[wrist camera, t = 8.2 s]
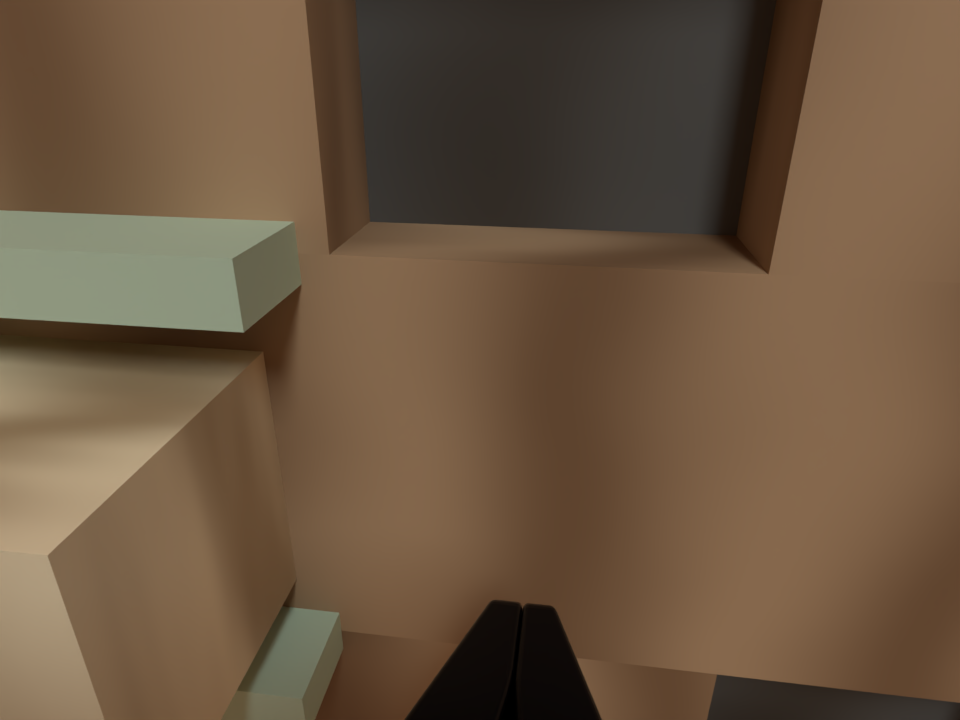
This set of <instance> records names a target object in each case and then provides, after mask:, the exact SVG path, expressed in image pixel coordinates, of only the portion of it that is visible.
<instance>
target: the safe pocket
mask: <svg viewBox="0 0 960 720" xmlns="http://www.w3.org/2000/svg"><path fill="white" fill-rule="evenodd" d="M300 285H301V275H300V267H299V258H298V249H297V240H296V232H295V223H294V222H290V221H264V220H238V219H212V218H186V217H160V216H134V215H108V214H82V213H56V212H30V211H4V210H0V318H12V319H28V320H45V321H61V322H78V323H94V324H111V325H127V326H144V327H160V328H177V329H193V330H210V331H226V332H243V333H244V332H245V331H246V330H247V329H249V328H250V327H251V326H252V325H253V324H255V323H256V322H257V321H258V320H259V319H261V318H262V317H263V316H264V315H265V314H267V313H268V312H269V311H270V310H271V309H273V308H274V307H275V306H276V305H277V304H279V303H280V302H281V301H282V300H283V299H285V298H286V297H287V296H288V295H289V294H291V293H292V292H293V291H294V290H295V289H297V288H298V287H299V286H300ZM342 650H343V640H342V632H341V623H340V614H339V613H338V612H329V611H320V610H311V609H302V608H293V607H285V606H282V607H281V609H280V611H279V613H278V615H277V617H276V619H275V620H274V622H273V624H272V626H271V628H270V630H269V632H268V633H267V635H266V637H265V639H264V641H263V643H262V645H261V646H260V648H259V650H258V652H257V654H256V656H255V658H254V659H253V661H252V663H251V665H250V667H249V669H248V670H247V672H246V674H245V676H244V678H243V680H242V682H241V683H240V685H239V687H238V689H237V691H236V693H235V695H234V696H233V698H232V700H231V702H230V704H229V706H228V708H227V709H226V711H225V713H224V715H223V717H222V719H221V720H315V718H316V716H317V713H318V711H319V708H320V706H321V703H322V701H323V698H324V696H325V693H326V691H327V688H328V686H329V683H330V681H331V678H332V676H333V673H334V670H335V668H336V665H337V663H338V660H339V658H340V655H341V653H342Z"/></svg>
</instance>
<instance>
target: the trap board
mask: <svg viewBox="0 0 960 720" xmlns="http://www.w3.org/2000/svg"><path fill="white" fill-rule="evenodd" d="M0 210H4V211H30V212H56V213H82V214H108V215H134V216H160V217H186V218H212V219H238V220H264V221H290V222H294V223H295V232H296V240H297V249H298V258H299V267H300V275H301V285H300V286H299V287H298V288H297V289H295V290H294V291H293V292H292V293H291V294H289V295H288V296H287V297H286V298H285V299H283V300H282V301H281V302H280V303H279V304H277V305H276V306H275V307H274V308H273V309H271V310H270V311H269V312H268V313H267V314H265V315H264V316H263V317H262V318H261V319H259V320H258V321H257V322H256V323H255V324H253V325H252V326H251V327H250V328H249V329H247V330H246V331H245V332H244V333H243V332H226V331H210V330H193V329H177V328H160V327H144V326H127V325H111V324H94V323H78V322H61V321H45V320H28V319H12V318H0V335H13V336H29V337H44V338H60V339H75V340H91V341H106V342H122V343H137V344H152V345H168V346H183V347H199V348H214V349H230V350H245V351H261V352H263V354H264V361H265V368H266V375H267V381H268V388H269V395H270V402H271V409H272V415H273V422H274V429H275V436H276V443H277V450H278V456H279V463H280V470H281V477H282V484H283V490H284V497H285V504H286V511H287V518H288V524H289V531H290V538H291V545H292V552H293V558H294V565H295V572H296V579H297V580H296V581H295V583H294V585H293V587H292V589H291V591H290V593H289V594H288V596H287V598H286V600H285V602H284V604H283V606H285V607H293V608H302V609H311V610H320V611H329V612H338V613H339V614H340V623H341V632H342V640H343V650H342V653H341V655H340V658H339V660H338V663H337V665H336V668H335V670H334V673H333V676H332V678H331V681H330V683H329V686H328V688H327V691H326V693H325V696H324V698H323V701H322V703H321V706H320V708H319V711H318V713H317V716H316V718H315V720H404V719H405V718H406V716H407V715H408V714H409V712H410V711H411V710H412V708H413V707H414V705H415V704H416V703H417V701H418V700H419V698H420V697H421V696H422V694H423V693H424V692H425V690H426V689H427V687H428V686H429V685H430V683H431V682H432V681H433V679H434V678H435V676H436V675H437V674H438V672H439V671H440V669H441V668H442V667H443V665H444V664H445V663H446V661H447V660H448V658H449V657H450V656H451V654H452V653H453V651H454V650H455V649H456V647H457V646H458V645H459V643H460V642H461V640H462V639H463V638H464V636H465V635H466V634H467V632H468V631H469V629H470V628H471V627H472V625H473V624H474V622H475V621H476V620H477V618H478V617H479V616H480V614H481V613H482V611H483V610H484V609H485V607H486V606H487V605H488V603H489V602H490V601H492V600H505V601H515V602H519V603H520V604H521V605H522V609H523V606H524V605H525V604H526V603H533V604H542V605H551V606H553V607H554V608H555V609H556V611H557V613H558V615H559V618H560V620H561V622H562V625H563V627H564V630H565V632H566V634H567V637H568V639H569V642H570V644H571V646H572V649H573V651H574V654H575V656H576V658H577V661H578V663H579V665H580V668H581V670H582V673H583V675H584V677H585V680H586V682H587V685H588V687H589V689H590V692H591V694H592V697H593V699H594V701H595V704H596V706H597V709H598V711H599V713H600V716H601V718H602V720H960V0H0Z"/></svg>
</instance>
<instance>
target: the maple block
mask: <svg viewBox="0 0 960 720" xmlns="http://www.w3.org/2000/svg"><path fill="white" fill-rule="evenodd" d="M296 580H297V579H296V572H295V565H294V558H293V552H292V545H291V538H290V531H289V524H288V518H287V511H286V504H285V497H284V490H283V484H282V477H281V470H280V463H279V456H278V450H277V443H276V436H275V429H274V422H273V415H272V409H271V402H270V395H269V388H268V381H267V375H266V368H265V361H264V354H263V352H261V351H245V350H230V349H214V348H199V347H183V346H168V345H152V344H137V343H122V342H106V341H91V340H75V339H60V338H44V337H29V336H13V335H0V720H221V719H222V717H223V715H224V713H225V711H226V709H227V708H228V706H229V704H230V702H231V700H232V698H233V696H234V695H235V693H236V691H237V689H238V687H239V685H240V683H241V682H242V680H243V678H244V676H245V674H246V672H247V670H248V669H249V667H250V665H251V663H252V661H253V659H254V658H255V656H256V654H257V652H258V650H259V648H260V646H261V645H262V643H263V641H264V639H265V637H266V635H267V633H268V632H269V630H270V628H271V626H272V624H273V622H274V620H275V619H276V617H277V615H278V613H279V611H280V609H281V607H282V606H283V604H284V602H285V600H286V598H287V596H288V594H289V593H290V591H291V589H292V587H293V585H294V583H295V581H296Z"/></svg>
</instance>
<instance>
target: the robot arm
mask: <svg viewBox="0 0 960 720" xmlns="http://www.w3.org/2000/svg"><path fill="white" fill-rule="evenodd" d="M404 720H602V718H601V716H600V713H599V711H598V709H597V706H596V704H595V701H594V699H593V697H592V694H591V692H590V689H589V687H588V685H587V682H586V680H585V677H584V675H583V673H582V670H581V668H580V665H579V663H578V661H577V658H576V656H575V654H574V651H573V649H572V646H571V644H570V642H569V639H568V637H567V634H566V632H565V630H564V627H563V625H562V622H561V620H560V618H559V615H558V613H557V611H556V609H555V608H554V607H553V606H551V605H542V604H533V603H526V604H525V605H524V606H523V609H522V605H521V604H520V603H519V602H515V601H505V600H492V601H490V602H489V603H488V605H487V606H486V607H485V609H484V610H483V611H482V613H481V614H480V616H479V617H478V618H477V620H476V621H475V622H474V624H473V625H472V627H471V628H470V629H469V631H468V632H467V634H466V635H465V636H464V638H463V639H462V640H461V642H460V643H459V645H458V646H457V647H456V649H455V650H454V651H453V653H452V654H451V656H450V657H449V658H448V660H447V661H446V663H445V664H444V665H443V667H442V668H441V669H440V671H439V672H438V674H437V675H436V676H435V678H434V679H433V681H432V682H431V683H430V685H429V686H428V687H427V689H426V690H425V692H424V693H423V694H422V696H421V697H420V698H419V700H418V701H417V703H416V704H415V705H414V707H413V708H412V710H411V711H410V712H409V714H408V715H407V716H406V718H405V719H404Z"/></svg>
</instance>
